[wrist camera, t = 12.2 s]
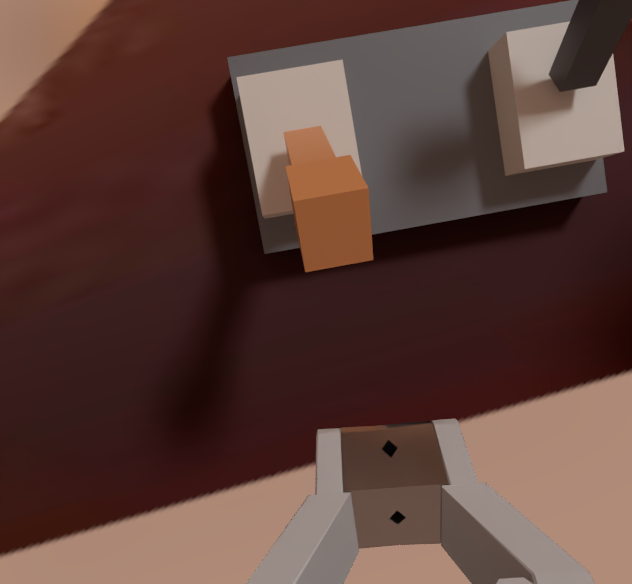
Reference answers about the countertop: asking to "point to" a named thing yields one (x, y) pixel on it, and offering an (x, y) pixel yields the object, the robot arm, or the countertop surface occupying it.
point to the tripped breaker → (327, 202)
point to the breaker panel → (431, 119)
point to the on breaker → (589, 42)
